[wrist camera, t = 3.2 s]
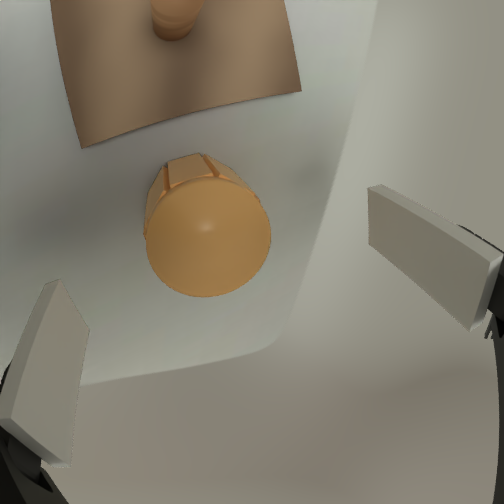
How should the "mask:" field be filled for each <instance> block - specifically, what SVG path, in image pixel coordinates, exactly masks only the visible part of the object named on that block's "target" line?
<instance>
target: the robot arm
mask: <svg viewBox="0 0 504 504" xmlns="http://www.w3.org/2000/svg"><path fill="white" fill-rule="evenodd" d="M368 215H369V216H368V217H369V245H370V246H372V247H373V248H374V249H375V250H377V251H378V252H379V253H380V254H382V255H383V256H384V257H385V258H386V259H388V260H389V261H390V262H391V263H392V264H394V265H395V266H396V267H397V268H398V269H400V270H401V271H402V272H403V273H404V274H405V275H407V276H408V277H409V278H410V279H411V280H412V281H414V282H415V283H416V284H417V285H418V286H419V287H420V288H422V289H423V290H424V291H425V292H426V293H427V294H428V295H429V296H431V297H432V298H433V299H434V300H435V301H436V302H437V303H438V304H440V305H441V306H442V307H443V308H444V309H445V310H446V311H447V312H448V313H449V314H450V315H451V316H453V317H454V318H455V319H456V320H457V321H458V322H459V323H460V324H461V325H462V326H463V327H464V328H465V329H466V330H467V331H468V332H470V331H472V330H473V329H474V328H475V327H477V326H478V325H480V324H481V323H483V320H484V317H485V314H486V312H487V309H489V310H490V311H491V312H492V313H493V314H492V317H491V320H490V322H489V325H488V327H487V330H486V332H485V337H484V338H485V339H487V338H488V335H489V333H490V331H491V330H492V336H491V339H493V341H494V348H495V355H496V365H497V376H498V391H499V452H498V466H497V476H496V485H495V492H494V500H493V504H504V252H503V251H502V250H500V249H498V248H497V247H495V246H494V245H492V244H490V243H489V242H488V241H486V240H485V239H482V238H481V237H480V236H478V235H476V234H475V235H474V233H473V232H472V231H470V230H468V229H467V228H465V227H463V226H460V225H457V224H455V223H453V222H451V221H450V220H448V219H446V218H444V217H443V216H441V215H439V214H437V213H435V212H433V211H432V210H430V209H428V208H426V207H425V206H423V205H421V204H419V203H417V202H415V201H413V200H411V199H409V198H407V197H406V196H404V195H402V194H400V193H398V192H396V191H394V190H392V189H390V188H388V187H386V186H384V185H378V186H374V187H369V188H368ZM88 335H89V328H88V327H87V325H86V324H85V322H84V320H83V319H82V317H81V315H80V314H79V312H78V310H77V309H76V307H75V305H74V303H73V302H72V300H71V298H70V296H69V295H68V293H67V291H66V289H65V287H64V286H63V284H62V282H61V280H60V279H59V280H56V281H53V282H50V283H47V284H45V286H44V288H43V290H42V292H41V294H40V296H39V298H38V301H37V303H36V305H35V307H34V309H33V311H32V313H31V316H30V318H29V320H28V322H27V325H26V327H25V329H24V332H23V334H22V336H21V339H20V341H19V344H18V346H17V349H16V351H15V354H14V356H13V359H12V361H11V362H10V364H9V365H8V367H7V368H6V370H5V372H4V375H3V377H2V380H1V384H0V504H69V503H68V502H67V501H66V499H65V498H64V497H63V495H62V494H61V492H60V491H59V489H58V488H57V486H56V485H55V484H54V482H53V481H52V479H51V477H50V476H49V475H48V473H47V472H46V471H45V470H44V469H43V468H42V467H41V459H42V460H44V461H45V462H47V463H48V464H49V465H51V466H52V467H71V461H72V444H73V432H74V422H75V413H76V406H77V398H78V391H79V384H80V378H81V372H82V366H83V361H84V355H85V350H86V345H87V340H88Z"/></svg>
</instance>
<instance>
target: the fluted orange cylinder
mask: <svg viewBox="0 0 504 504" xmlns="http://www.w3.org/2000/svg"><path fill="white" fill-rule="evenodd" d="M143 235H144V237H145V240H146V250H147V256H148V259H149V262H150V265H151V267H152V269H153V270H154V272H155V273H156V275H157V276H158V277H159V278H160V279H161V281H162V282H164V283H165V284H166V285H167V286H169V287H170V288H172V289H173V290H175V291H177V292H180V293H182V294H185V295H189V296H194V297H213V296H219V295H223V294H226V293H229V292H231V291H233V290H235V289H237V288H239V287H241V286H242V285H244V284H245V283H247V282H248V281H249V280H250V279H251V278H252V277H253V276H254V275H255V274H256V273H257V272H258V271H259V269H260V268H261V266H262V265H263V263H264V261H265V259H266V257H267V254H268V251H269V248H270V242H271V229H270V224H269V220H268V217H267V215H266V212H265V211H264V209H263V207H262V206H261V205H260V199H259V198H258V197H257V196H256V195H255V193H254V192H253V191H252V190H251V189H250V188H249V187H248V186H247V185H246V183H245V182H244V181H243V180H242V179H241V178H240V177H239V176H238V175H237V174H236V173H235V172H234V171H233V170H232V169H230V168H229V167H227V166H225V165H224V164H222V163H220V162H218V161H217V160H215V159H213V158H211V157H210V156H208V155H206V154H204V155H203V157H201V156H200V154H199V153H197V154H193V155H190V156H186V157H183V158H179V159H176V160H172V161H169V162H168V168H166V167H165V166H162V168H161V170H160V172H159V173H158V175H157V177H156V179H155V181H154V183H153V184H152V186H151V188H150V190H149V192H148V195H147V203H146V211H145V220H144V233H143Z"/></svg>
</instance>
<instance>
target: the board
mask: <svg viewBox="0 0 504 504" xmlns="http://www.w3.org/2000/svg"><path fill="white" fill-rule="evenodd" d="M50 3H51V11H52V19H53V26H54V33H55V39H56V45H57V50H58V56H59V61H60V66H61V71H62V75H63V80H64V84H65V89H66V93H67V97H68V101H69V105H70V109H71V113H72V117H73V120H74V124H75V128H76V131H77V135H78V138H79V141H80V145H81V148H82V149H83V148H85V147H88V146H90V145H93V144H96V143H98V142H101V141H103V140H106V139H109V138H112V137H114V136H117V135H120V134H123V133H126V132H129V131H132V130H135V129H138V128H141V127H144V126H147V125H150V124H154V123H157V122H160V121H164V120H167V119H170V118H174V117H178V116H181V115H185V114H189V113H192V112H196V111H200V110H204V109H209V108H213V107H217V106H221V105H226V104H231V103H235V102H240V101H245V100H250V99H256V98H261V97H267V96H273V95H279V94H286V93H293V92H300V91H302V90H301V84H300V78H299V72H298V67H297V61H296V56H295V51H294V46H293V41H292V36H291V31H290V26H289V21H288V17H287V12H286V8H285V3H284V0H50Z"/></svg>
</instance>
